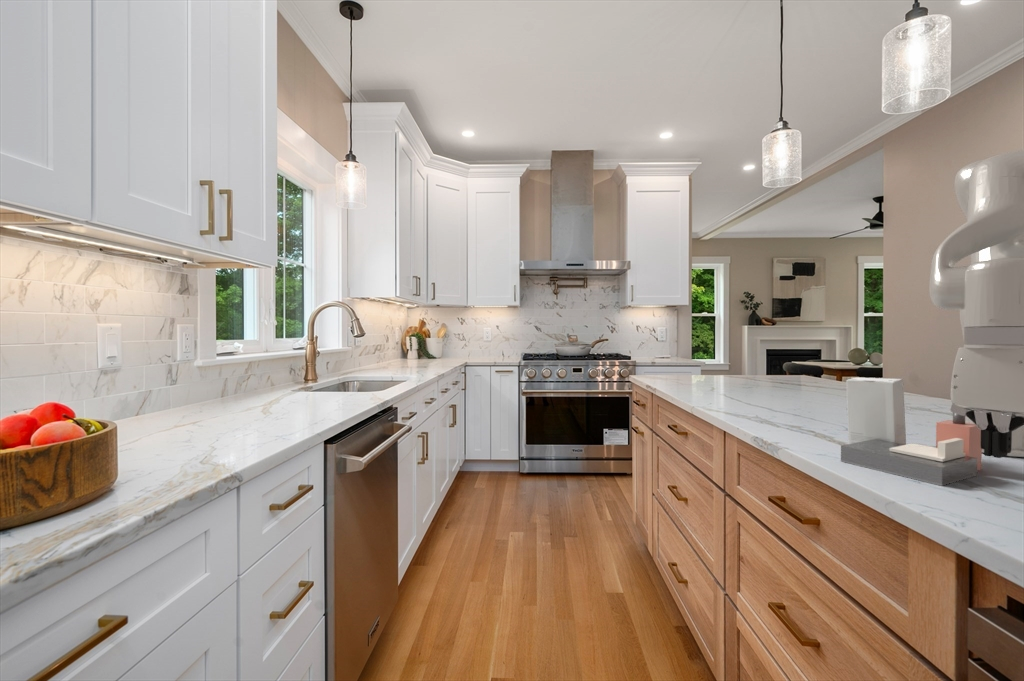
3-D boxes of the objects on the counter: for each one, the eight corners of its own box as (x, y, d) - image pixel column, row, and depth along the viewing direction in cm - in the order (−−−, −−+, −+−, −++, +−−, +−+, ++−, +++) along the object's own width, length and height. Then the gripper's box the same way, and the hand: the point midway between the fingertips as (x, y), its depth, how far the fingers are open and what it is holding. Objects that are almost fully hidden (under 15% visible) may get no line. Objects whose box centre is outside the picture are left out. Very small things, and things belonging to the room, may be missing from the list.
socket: (876, 453, 91) (876, 438, 91) (977, 475, 77) (977, 457, 77) (840, 461, 86) (840, 445, 86) (941, 485, 72) (942, 467, 72)
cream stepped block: (912, 446, 85) (912, 430, 85) (965, 456, 78) (965, 438, 78) (889, 450, 82) (889, 434, 81) (942, 461, 75) (943, 443, 75)
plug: (948, 463, 84) (949, 409, 84) (981, 469, 80) (982, 413, 80) (935, 466, 83) (936, 411, 82) (968, 473, 78) (969, 415, 78)
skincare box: (906, 452, 91) (907, 379, 91) (895, 457, 88) (896, 381, 88) (857, 444, 98) (857, 375, 98) (845, 448, 95) (845, 377, 95)
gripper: (1081, 339, 66) (1078, 465, 66) (948, 338, 80) (946, 443, 80) (1059, 339, 63) (1057, 472, 63) (925, 338, 76) (923, 447, 77)
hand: (995, 455), depth 71 cm, fingers closed
